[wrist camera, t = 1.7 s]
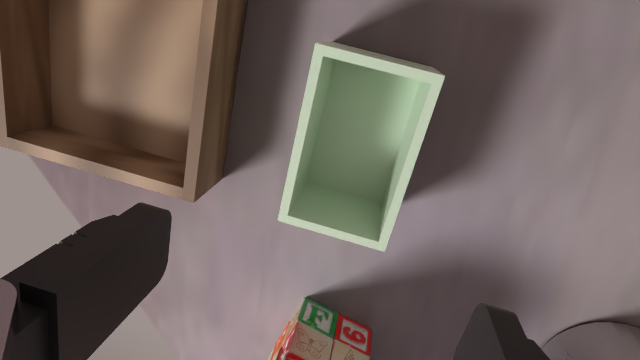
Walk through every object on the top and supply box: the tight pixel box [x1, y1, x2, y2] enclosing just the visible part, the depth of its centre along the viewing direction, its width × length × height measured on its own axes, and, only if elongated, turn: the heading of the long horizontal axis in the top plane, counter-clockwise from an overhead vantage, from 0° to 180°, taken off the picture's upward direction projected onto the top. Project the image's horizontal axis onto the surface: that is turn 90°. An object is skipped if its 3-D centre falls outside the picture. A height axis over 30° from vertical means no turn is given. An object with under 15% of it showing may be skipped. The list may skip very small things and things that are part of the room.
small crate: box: [278, 42, 445, 252], centre depth 23 cm, size 6×10×6 cm, turn 167°
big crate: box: [0, 0, 248, 203], centre depth 25 cm, size 14×15×4 cm
